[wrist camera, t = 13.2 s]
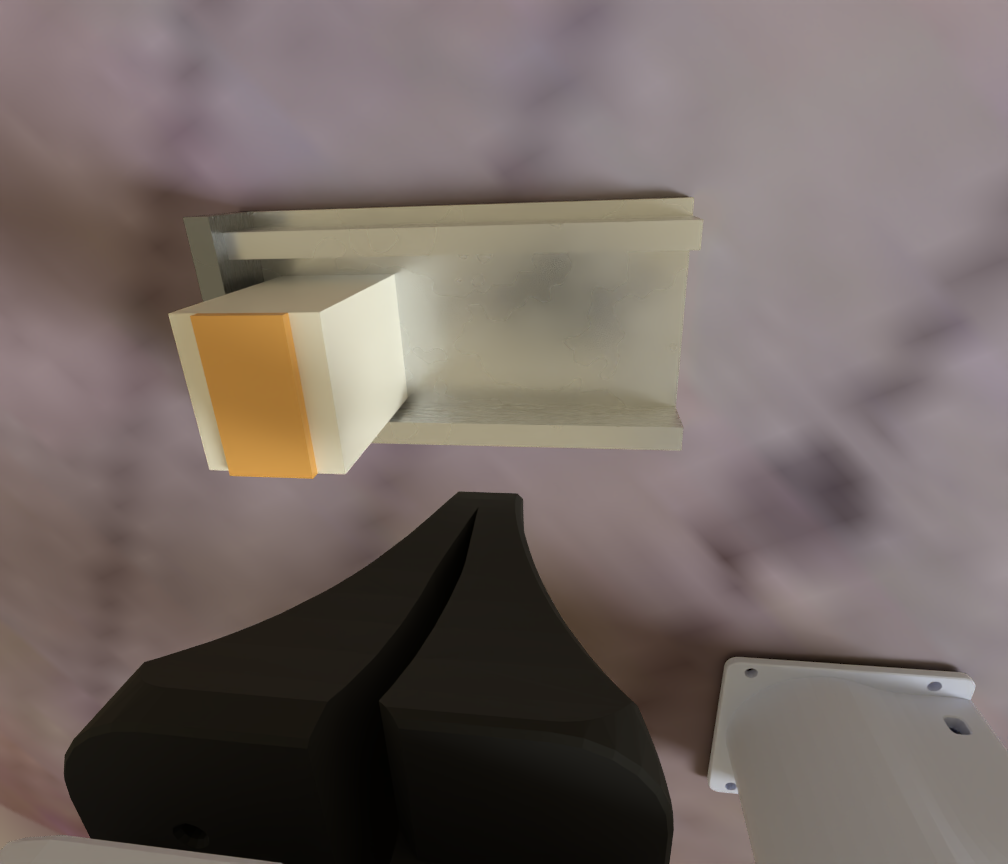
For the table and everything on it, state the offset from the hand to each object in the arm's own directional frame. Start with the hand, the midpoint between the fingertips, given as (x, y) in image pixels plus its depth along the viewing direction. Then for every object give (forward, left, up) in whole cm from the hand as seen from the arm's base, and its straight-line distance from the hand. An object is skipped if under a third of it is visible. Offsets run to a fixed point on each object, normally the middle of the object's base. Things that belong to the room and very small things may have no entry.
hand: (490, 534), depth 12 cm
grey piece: (+2, -2, -10) cm, 10 cm away
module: (+6, -2, -9) cm, 11 cm away
